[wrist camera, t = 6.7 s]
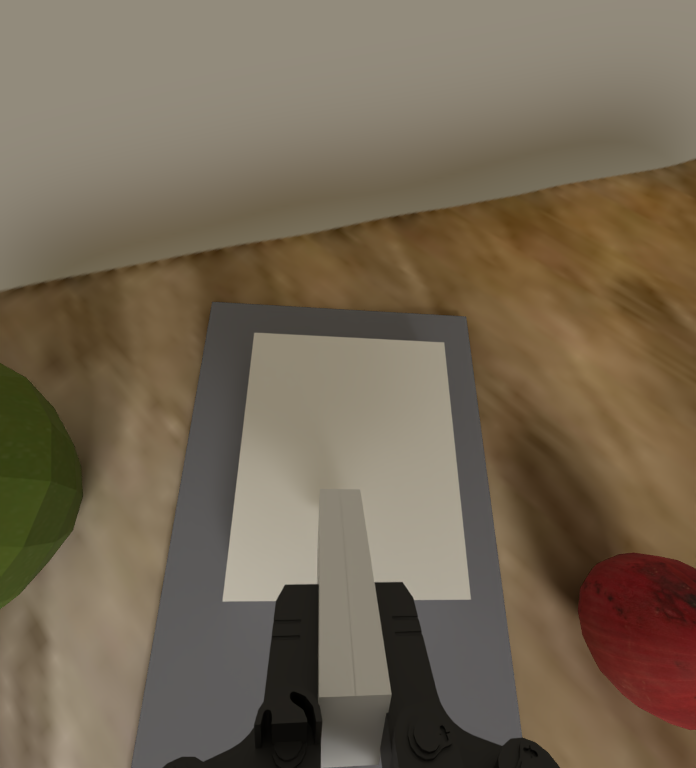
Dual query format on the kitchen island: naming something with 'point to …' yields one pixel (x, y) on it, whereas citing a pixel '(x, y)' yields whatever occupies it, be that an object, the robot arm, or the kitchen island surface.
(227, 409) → the mat
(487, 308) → the kitchen island surface
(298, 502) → the tile
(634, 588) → the red pomegranate
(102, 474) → the kitchen island surface
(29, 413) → the apple
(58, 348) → the kitchen island surface
